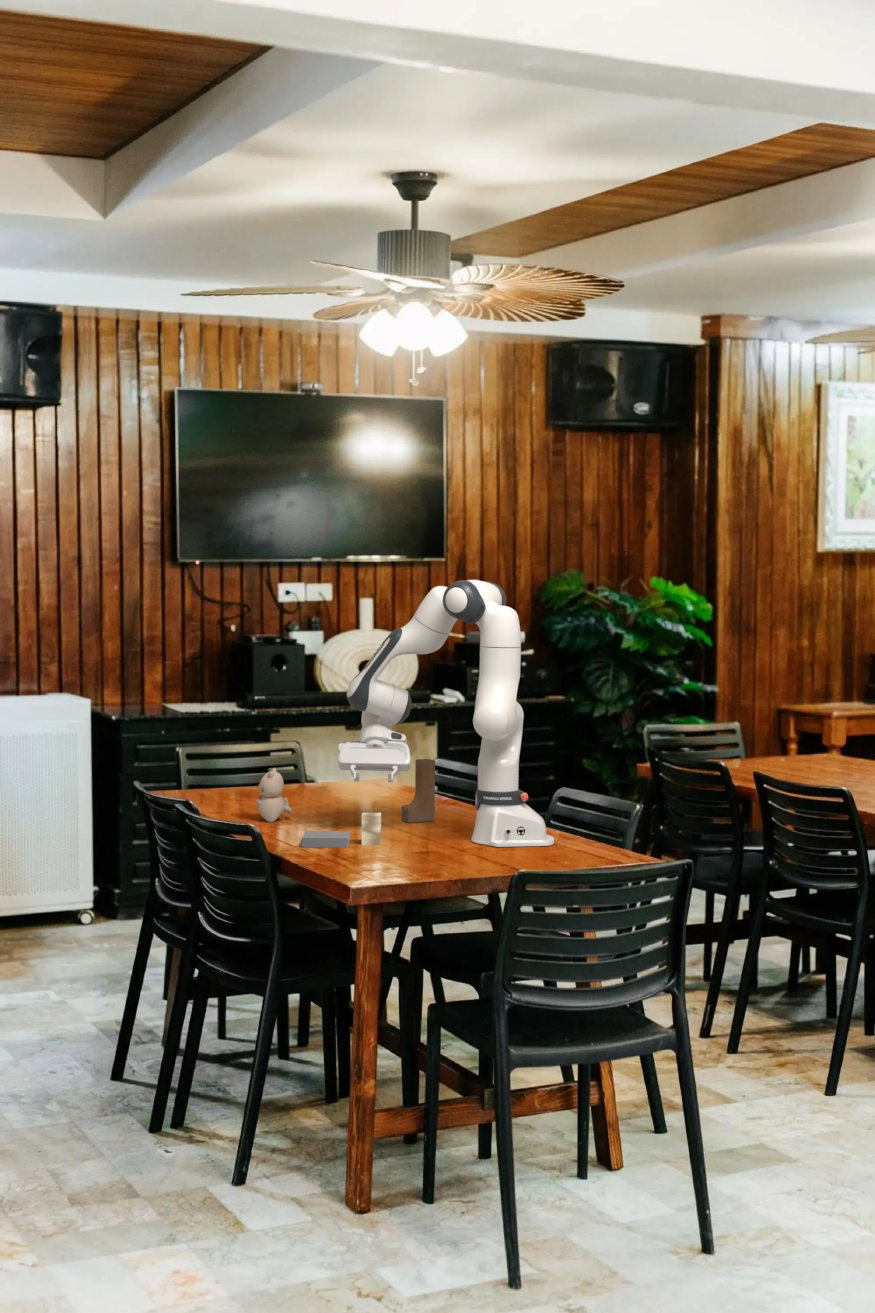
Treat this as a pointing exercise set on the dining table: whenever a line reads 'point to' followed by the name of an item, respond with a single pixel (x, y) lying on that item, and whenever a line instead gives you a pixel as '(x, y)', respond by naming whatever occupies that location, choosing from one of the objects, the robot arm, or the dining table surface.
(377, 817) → the maple post
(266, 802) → the toy
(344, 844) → the base slab
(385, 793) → the dining table surface
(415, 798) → the wooden block
